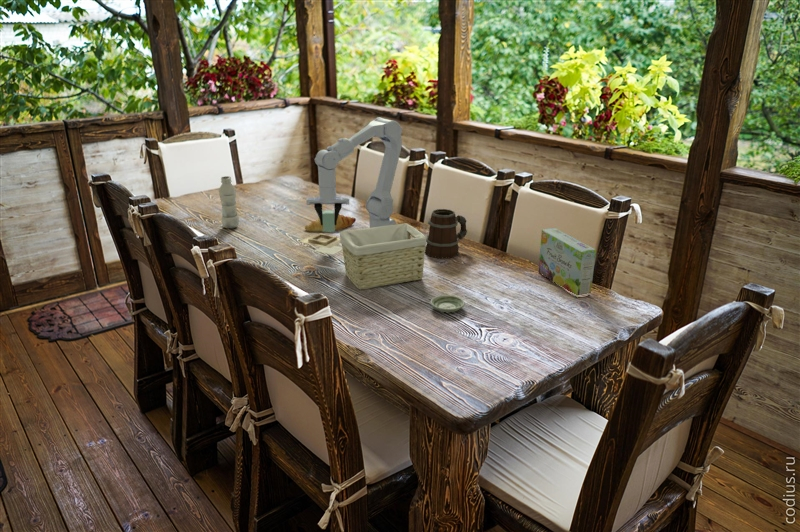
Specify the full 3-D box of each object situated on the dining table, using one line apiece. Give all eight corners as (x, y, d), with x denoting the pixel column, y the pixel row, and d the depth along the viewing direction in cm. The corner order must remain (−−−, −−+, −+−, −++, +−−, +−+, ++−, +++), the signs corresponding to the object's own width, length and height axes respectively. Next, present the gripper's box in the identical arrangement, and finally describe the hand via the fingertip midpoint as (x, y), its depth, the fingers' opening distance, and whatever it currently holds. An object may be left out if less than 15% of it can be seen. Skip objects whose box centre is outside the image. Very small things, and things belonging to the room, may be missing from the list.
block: (335, 228, 212) (334, 210, 210) (334, 231, 209) (334, 213, 206) (323, 228, 212) (322, 210, 210) (323, 231, 208) (322, 213, 206)
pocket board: (347, 240, 223) (347, 236, 222) (330, 249, 214) (330, 245, 213) (316, 234, 229) (316, 230, 228) (298, 243, 220) (298, 238, 219)
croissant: (308, 243, 231) (311, 228, 225) (299, 225, 236) (301, 210, 230) (358, 234, 240) (362, 219, 234) (348, 216, 246) (351, 202, 240)
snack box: (536, 273, 196) (540, 228, 190) (551, 270, 197) (555, 227, 192) (575, 299, 177) (582, 251, 171) (591, 296, 179) (598, 248, 173)
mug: (436, 261, 205) (437, 218, 199) (419, 250, 214) (420, 209, 209) (474, 254, 211) (477, 212, 206) (456, 243, 221) (458, 204, 216)
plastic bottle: (242, 225, 239) (237, 175, 232) (236, 230, 233) (231, 179, 225) (226, 224, 240) (221, 175, 232) (219, 229, 233) (214, 179, 226)
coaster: (345, 249, 214) (345, 247, 214) (332, 256, 208) (332, 254, 208) (327, 245, 218) (326, 243, 218) (313, 252, 211) (313, 250, 211)
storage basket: (355, 293, 180) (354, 246, 175) (339, 273, 194) (337, 230, 188) (427, 281, 189) (429, 236, 183) (407, 263, 202) (408, 221, 197)
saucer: (444, 299, 177) (444, 291, 176) (471, 309, 171) (471, 301, 170) (423, 309, 170) (423, 301, 169) (450, 320, 164) (450, 312, 163)
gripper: (348, 182, 208) (349, 220, 213) (306, 183, 207) (308, 221, 212) (348, 188, 202) (349, 226, 207) (305, 188, 201) (307, 227, 206)
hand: (328, 224), depth 209 cm, fingers closed on block, 4 cm apart
